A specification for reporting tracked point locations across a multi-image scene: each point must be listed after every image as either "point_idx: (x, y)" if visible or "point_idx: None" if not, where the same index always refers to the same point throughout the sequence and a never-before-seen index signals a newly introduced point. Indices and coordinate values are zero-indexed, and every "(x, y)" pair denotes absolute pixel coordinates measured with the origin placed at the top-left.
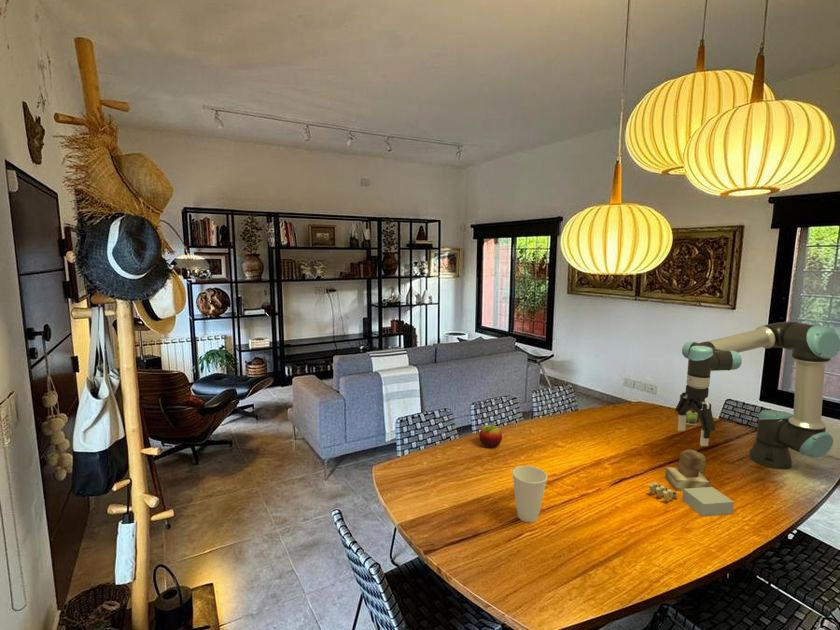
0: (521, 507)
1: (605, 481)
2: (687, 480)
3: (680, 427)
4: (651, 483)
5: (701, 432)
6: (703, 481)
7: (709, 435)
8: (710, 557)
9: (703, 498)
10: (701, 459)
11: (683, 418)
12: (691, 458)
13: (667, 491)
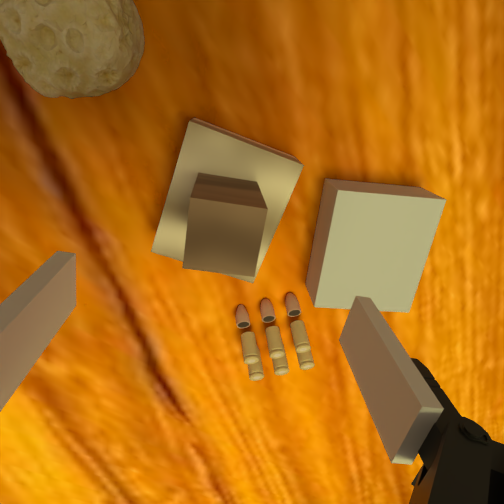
0: None
1: (161, 418)
2: (267, 247)
3: (63, 314)
4: (253, 376)
5: (382, 429)
6: (291, 188)
7: (437, 386)
8: (501, 385)
9: (384, 288)
10: (119, 23)
11: (6, 361)
12: (254, 260)
13: (301, 352)
